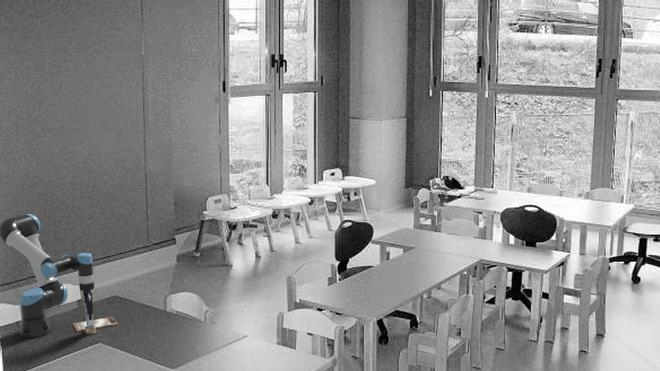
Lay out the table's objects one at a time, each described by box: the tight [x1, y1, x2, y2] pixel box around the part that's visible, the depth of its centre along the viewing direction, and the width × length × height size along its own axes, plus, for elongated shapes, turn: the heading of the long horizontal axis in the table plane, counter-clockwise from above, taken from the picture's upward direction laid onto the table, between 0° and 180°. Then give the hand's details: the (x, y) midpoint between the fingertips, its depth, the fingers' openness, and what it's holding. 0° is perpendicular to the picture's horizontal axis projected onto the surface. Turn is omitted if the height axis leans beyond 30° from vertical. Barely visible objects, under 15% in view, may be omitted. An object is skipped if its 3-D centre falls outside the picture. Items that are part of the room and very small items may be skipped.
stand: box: [84, 325, 97, 335], centre depth 434 cm, size 5×5×3 cm
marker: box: [83, 302, 94, 328], centre depth 433 cm, size 4×4×14 cm
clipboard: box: [72, 316, 119, 333], centre depth 446 cm, size 22×14×1 cm, turn 116°
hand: (90, 324), depth 434 cm, fingers open, 4 cm apart
